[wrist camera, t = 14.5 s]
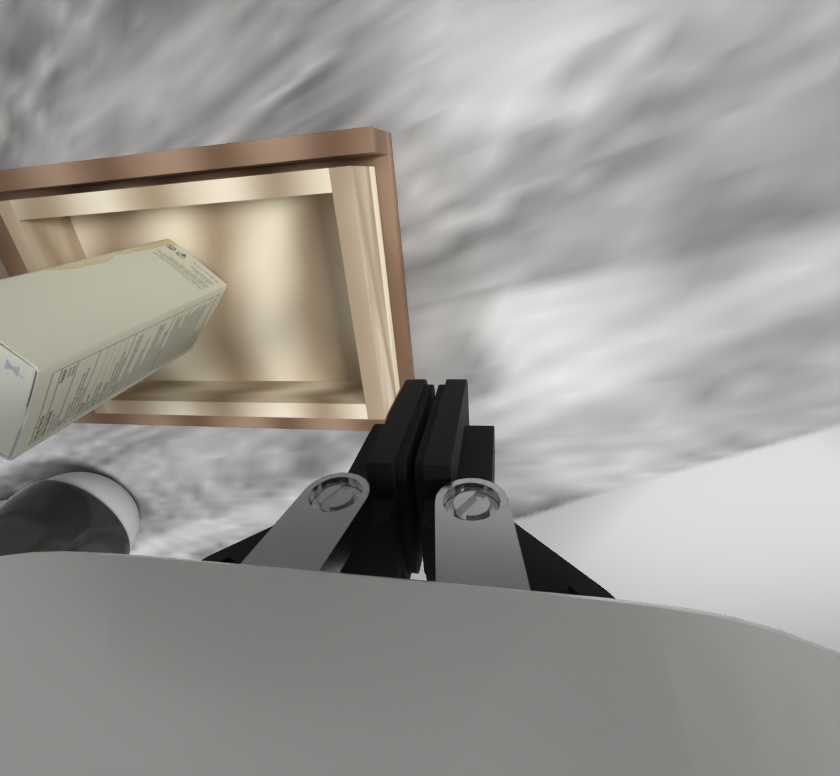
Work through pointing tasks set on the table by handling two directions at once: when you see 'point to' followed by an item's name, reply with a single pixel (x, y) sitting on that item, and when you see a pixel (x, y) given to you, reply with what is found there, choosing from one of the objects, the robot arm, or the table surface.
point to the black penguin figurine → (69, 516)
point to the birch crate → (249, 288)
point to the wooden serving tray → (220, 164)
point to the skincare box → (94, 333)
